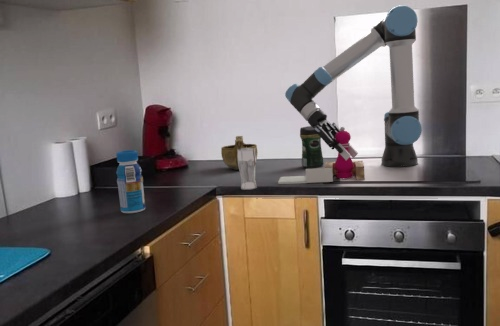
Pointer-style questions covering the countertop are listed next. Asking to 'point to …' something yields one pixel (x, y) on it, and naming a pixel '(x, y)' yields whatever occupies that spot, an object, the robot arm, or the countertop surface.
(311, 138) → the coffee jar
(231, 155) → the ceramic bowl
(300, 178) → the plate
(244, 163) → the beer glass
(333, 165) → the block
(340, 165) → the pepper mill
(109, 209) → the countertop surface
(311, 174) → the white rectangular block
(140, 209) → the beverage bottle
